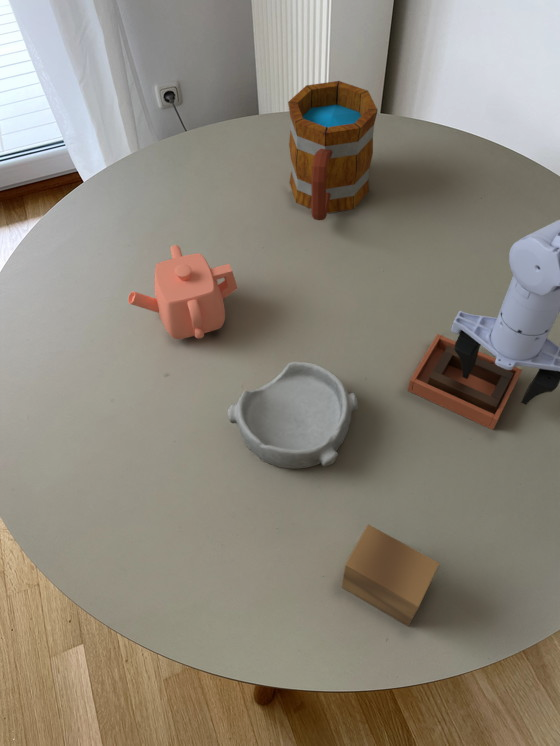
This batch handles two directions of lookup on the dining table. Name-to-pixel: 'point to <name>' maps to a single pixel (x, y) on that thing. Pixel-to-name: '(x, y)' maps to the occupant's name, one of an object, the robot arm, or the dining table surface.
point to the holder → (451, 402)
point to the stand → (388, 574)
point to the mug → (331, 146)
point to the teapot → (188, 294)
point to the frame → (479, 370)
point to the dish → (295, 417)
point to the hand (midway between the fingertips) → (496, 385)
